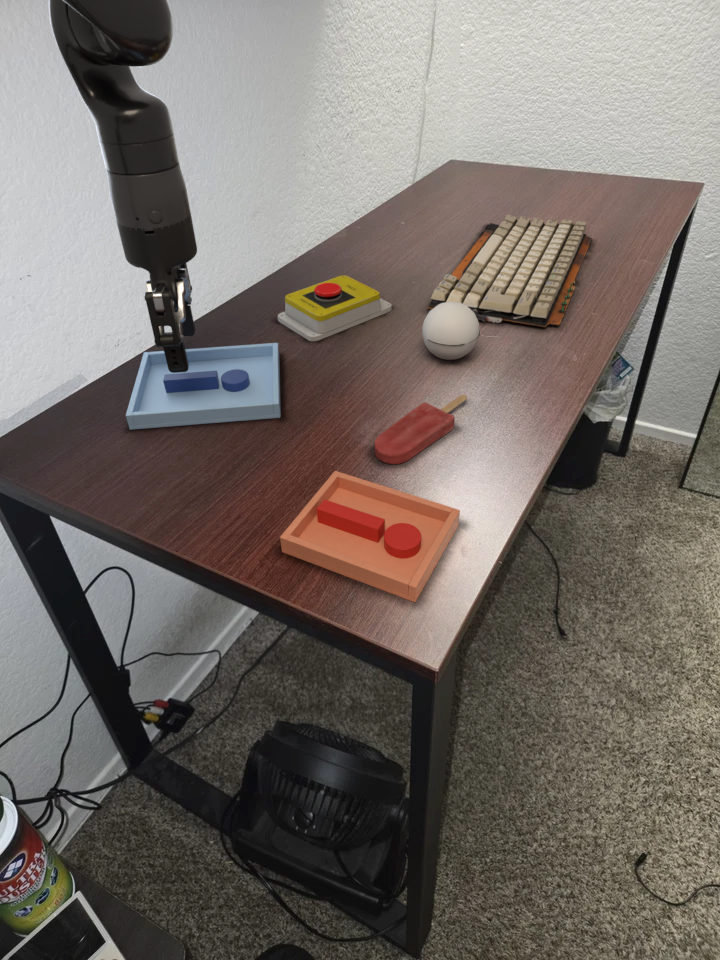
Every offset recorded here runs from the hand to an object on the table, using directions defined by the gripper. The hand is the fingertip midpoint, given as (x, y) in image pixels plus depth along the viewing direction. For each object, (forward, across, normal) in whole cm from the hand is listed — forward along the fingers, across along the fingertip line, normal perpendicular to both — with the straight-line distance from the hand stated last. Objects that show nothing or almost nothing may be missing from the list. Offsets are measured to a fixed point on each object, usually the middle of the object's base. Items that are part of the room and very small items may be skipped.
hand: (183, 352), depth 78 cm
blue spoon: (+5, 0, +2) cm, 5 cm away
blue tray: (+6, 0, +2) cm, 6 cm away
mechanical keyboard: (+5, -28, +50) cm, 57 cm away
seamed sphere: (+6, -3, +34) cm, 35 cm away
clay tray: (+6, +28, +19) cm, 34 cm away
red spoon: (+5, +28, +19) cm, 34 cm away
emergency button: (+6, -18, +19) cm, 27 cm away
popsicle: (+6, +12, +27) cm, 30 cm away
